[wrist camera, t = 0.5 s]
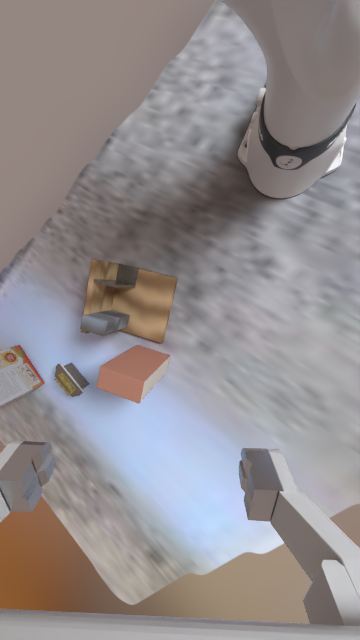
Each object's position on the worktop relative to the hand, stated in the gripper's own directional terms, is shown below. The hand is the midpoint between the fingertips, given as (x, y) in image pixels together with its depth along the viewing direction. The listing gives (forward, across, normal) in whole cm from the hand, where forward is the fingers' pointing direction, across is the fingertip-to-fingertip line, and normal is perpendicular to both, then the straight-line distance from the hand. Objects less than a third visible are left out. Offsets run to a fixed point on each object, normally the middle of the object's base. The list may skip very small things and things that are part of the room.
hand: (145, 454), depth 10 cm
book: (+42, +7, +22) cm, 48 cm away
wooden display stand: (+46, +10, +9) cm, 48 cm away
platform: (+46, +28, +31) cm, 62 cm away
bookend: (+48, +13, +2) cm, 49 cm away
